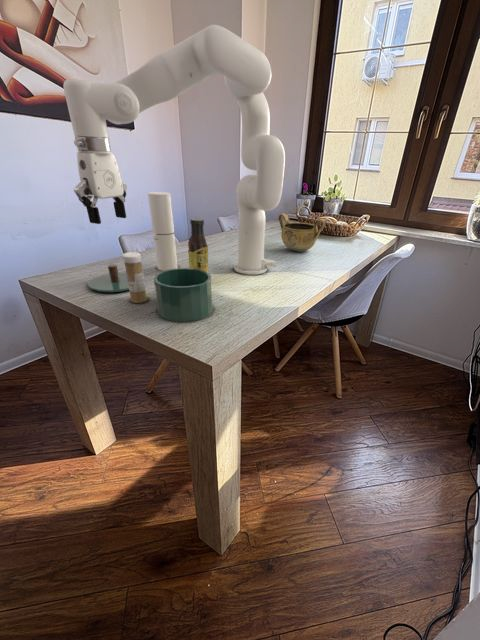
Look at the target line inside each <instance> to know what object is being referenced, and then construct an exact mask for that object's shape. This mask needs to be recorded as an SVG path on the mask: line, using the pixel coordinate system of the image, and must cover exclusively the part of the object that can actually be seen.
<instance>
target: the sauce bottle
mask: <svg viewBox="0 0 480 640" xmlns="http://www.w3.org/2000/svg"><path fill="white" fill-rule="evenodd" d="M189 222H190V227H191V230H190V231H191V232H190V234H191V235H190V237H189V239H188V243H187V246H188V247H187V248H188V250H187V251H188V252H187V253H188V268H191V269H198V270H203V271H205V272H207V273H209V246H208V244H207V240H206V237H205V232H204V225H205V220H204V219H203V218H195V217H194V218H190V221H189Z"/></svg>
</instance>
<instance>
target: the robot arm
mask: <svg viewBox="0 0 480 640" xmlns="http://www.w3.org/2000/svg"><path fill="white" fill-rule="evenodd" d="M218 74H221V75H223V81H224V85H225V87H226V89H227V90H228V92H229V93H230V95H232V97H233V98H234V100H235V102H236V103H237V105H238V107H239V110H240V114H241V115H240V116H241V144H240V145H241V148H240V157H241V158H240V159H241V162H242V164H243V166H244V167H245V168H246V169H248V170H251V171H256V174H247V175H244V176H243V177H242V178H240V179H239V181H238V182H237V185H236V190H235V191H236V192H235V194H236V202H237V203H236V204H237V210H238V211H237V212H238V232H237V233H238V236H237V237H238V238H237V239H238V241H237V243H238V244H237V247H238V248H237V262H236V263H235V264H234V265H233V270H234V271H235V272H237V273H239V274H242V275H250V276H251V275H253V276H255V275H263V274H265V273H266V272H267V271H268V267H276V265H277V264H276V260H273V259H266V258H265V256H264V255H265V237H266V221H267V220H266V212H271V211H273V210H275V209H276V208H277V207H278V206H279V204H280V202H281V200H282V195H283V186H284V176H285V175H284V174H285V164H286V153H285V148H284V145H283V143H282V141H281V140H280V139H279V137H277V136H276V135H272V134H270V132H271V131H270V126H271V125H270V123H271V114H270V106H269V103H268V101H267V98H266V95H265V94H264V92H265V91H266V90H267V89H268V88H269V86H270V84H271V80H272V66H271V63H270V61H269V59H268V57H267V56H266V55H265V53H264V52H263V51H261V50H260V49H258V48H257V47H255V46H254V45H253V44H251V43H249V42H248V41H246V40H245V39H243V38H242V37H241V36H239V35H237V34H236V33H234V32H232V31H231V30H229V29H227V28H226V27H223V26H221V25H219V24H210V25H208V26H206V27H204V28H203V29H201V30H199V31H198V32H196V33H194V34H192V35H190V36H189V37H187V38H185V39H184V40H182V41H180V42H178V43H176V44H174V45H173V46H170V47H169V48H167V49H165V50H164V51H161V52H160V53H158V54H156V55H155V56H153V57H152V58H150V59H149V60H148V61H147V62H146V63H144V64H143V65H142V66H140V67H139V68H138V69H136V70H134V71H133V72H131V73H130V74H128V75H126V76H124V77H122V78H120V79H119V80H118V81H116V82H113V83H112V82H109V83H108V82H107V83H100V82H99V83H98V82H97V83H96V82H93V81H89V80H85V79H78V78H69V79H66V80H64V82H63V87H62V88H63V92H64V96H65V100H66V105H67V110H68V114H69V118H70V123H71V127H72V131H73V135H74V140H73V143H74V144H73V145H74V146H75V147H76V148H77V152H76V159H77V169H78V176H79V181H80V182H79V183H78V184H77V185H76V186H75V187H73V192H74V194H75V195H76V197H77V198H78V201H80V202H81V203H82V205H83V207H85V208H86V211H87V212H86V213H87V215H88V216H87V217H88V220H89V223H90V224H96V225H100V224H101V223H102V219H101V216H100V211H99V207H98V206H97V203H98V200H100V199H101V200H103V199H105V200H106V199H110V198H111V199H112V200H113V208H114V213H115V214H114V215H115V217H116V218H120V219H126V218H127V213H126V207H125V203H126V197H127V188H128V185H127V183H126V182H124V181H122V180H123V179H122V176H121V172H120V168H119V165H118V162H117V159H116V156H115V154H114V153H112V148H111V143H110V142H111V141H110V137H109V131H108V125H107V121H108V122H110V123H111V124H114V125H127V124H131V123H133V122H135V121H136V120H137V118H138V117H139V114H141V113H142V112H144V111H146V110H148V109H150V108H152V107H154V106H156V105H159V104H163V103H166V102H169V101H172V100H173V99H176V98H177V97H179V96H181V95H183V94H184V93H186V92H188V91H189V90H191V89H192V88H194V87H197V85H199V84H201V83H203V82H204V81H206V80H207V79H209V78H211V77H213V76H215V75H218Z"/></svg>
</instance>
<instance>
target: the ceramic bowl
mask: <svg viewBox="0 0 480 640" xmlns="http://www.w3.org/2000/svg"><path fill="white" fill-rule="evenodd" d="M278 221H279V225H280V229H281V241H282V243H283V245H284V246H285V247H286V248H287V249H289V250H290V251H293V252H296V253H297V252H298V253H303V252H306V251H309V250H310V249H311V248H313V247H314V246H315V244H316V242H317V239H318V238H319V235H320V234H321V232H322V230H323V229H324V228H325V226H326V224H327V220H326V219H325V218H320V219H318V220H316V221H315V223H314V224H313V223H307V222H298V221H297V222H296V221H295V222H290V218H289V216H288V214H287V213H280V214H279V216H278ZM320 222H321V225H320V227H319V228H318V225H319V224H320Z"/></svg>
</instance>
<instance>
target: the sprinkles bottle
mask: <svg viewBox="0 0 480 640" xmlns="http://www.w3.org/2000/svg"><path fill="white" fill-rule="evenodd" d="M122 261H123V263H124V267H125V273H127V280H128V286H129V294H130V302H131V303H134V304H141V303H145V302H147V300H148V297H147V291H146V283H145V278H144V277H145V276H144V271H143V267H142V256H141V254H140V253H139V252H135V251H128V252H125V253H123V254H122Z"/></svg>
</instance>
